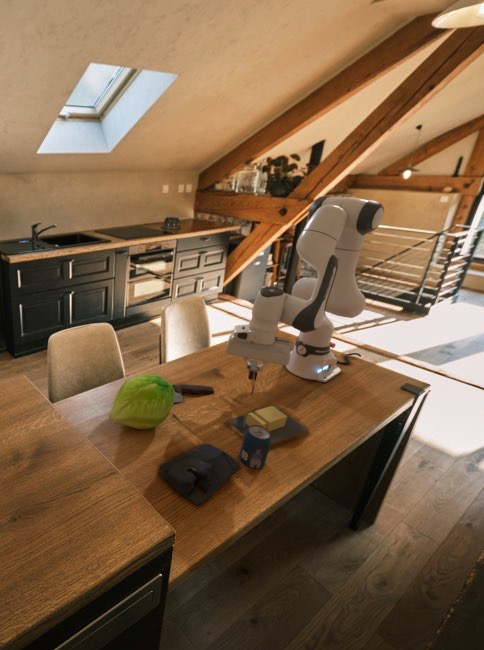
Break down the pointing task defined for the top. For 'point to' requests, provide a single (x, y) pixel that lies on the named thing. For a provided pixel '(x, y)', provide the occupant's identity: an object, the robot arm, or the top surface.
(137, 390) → the lettuce
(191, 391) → the cleaver
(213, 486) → the folded black cloth
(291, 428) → the butter board
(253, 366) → the knife
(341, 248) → the robot arm
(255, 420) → the butter slice
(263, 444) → the soda can
